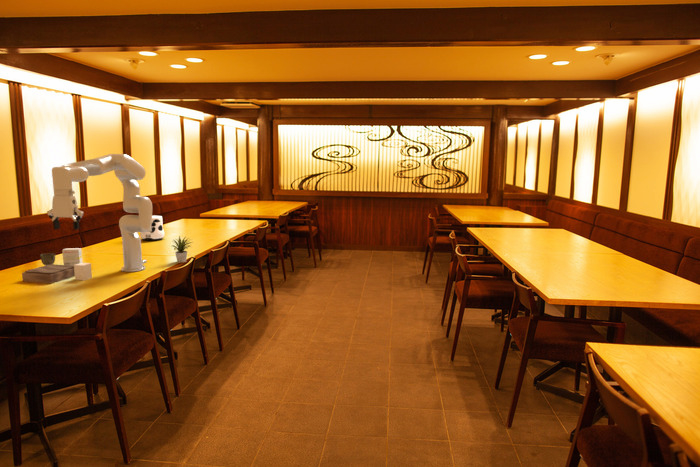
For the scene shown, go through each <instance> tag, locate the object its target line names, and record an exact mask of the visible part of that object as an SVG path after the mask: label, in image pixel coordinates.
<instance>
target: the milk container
mask: <svg viewBox="0 0 700 467" xmlns="http://www.w3.org/2000/svg"><path fill="white" fill-rule="evenodd" d="M163 223H164V221H163V216H162V215H152V224H151V228H150V230H149V231H148V232H145V233H142V232H139V233H140V235H139V236H140V239H141V240H143V241H144V240H145V241H158V240H159V241H160V240H162V239H164V238H165V230H164V226H163V225H164V224H163Z"/></svg>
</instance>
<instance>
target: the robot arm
mask: <svg viewBox="0 0 700 467" xmlns="http://www.w3.org/2000/svg"><path fill="white" fill-rule="evenodd" d="M113 171H114V175H115V177H116V178H117V179H118V180H119V181H120V182H121V185H122V188H123V192H122V193H123V195H122V196H123V197H122V207H123V211H125V212H126V213H131V214H125V215H123V216H121V217H120V219H119V220H118V221H119V222H118V227H119V229H120V234H121V240H122V254H123V255H122V257H123V258H122V259H123V266H122V267H121V270H120V271H122V272H124V273H126V272H127V273H129V272H130V273H132V272H133V273H134V272H140V271H143V270H146V265H144V264H146V263H147V261H148V260H147V259H143V256H142V255H143V254H142V253H143V252H142V238H141V236H140V235H139V233H140V232H142V233H145V232H148V231H149V230H150V228H151V224H152V216H153V202H152V201H151V199H150V198H149V197H147V196H141V187H140V185H139V183H138V181H141V180H143V179H145V176H146V169H145V167H144V166H143V165H142V164H141V163H139V162H138V161H137V160H135V159H134V158H133V157H131V156H130V155H128V154H125V153H109V154H104V155H103V156H98V157H95V158H92V159H85V160H80V161H74V162H71V163H67V164H64V165H60V166H54V167H52V168H51V177H52V188H53V196H52V203H51V205H52V208H51V209H49V210H47V212H46V214H47V215H48V217H49V218H50V220H51V221H52V223H53V229H54V230H58V229H59V230H60V229H61V227H60V226H61V225H60V220H59V219H60V218H68V219H69V218H71V219H72V220H73V222H72V226H73V228H72V229H73V230H74V231H77V230H80V221H81V219H82V218H83V216H84V211H82V210H80V209H79V205H78V202H77V199H76V197H75V193H76V192H75V191H74V190H73V183H74V182H75V183H81V182H82V183H83V182H85V181H86V180H88V179H89V177H94V176H101V175H104V174H107V173H110V172H113ZM72 182H73V183H72ZM133 213H134V214H133ZM136 214H138V215H136Z"/></svg>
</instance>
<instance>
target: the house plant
mask: <svg viewBox="0 0 700 467" xmlns="http://www.w3.org/2000/svg"><path fill="white" fill-rule="evenodd" d="M192 240H193V238H192V239H190V237H188V238H186V237H184V238H182V239H181V236H180V235H179V237H178V239H177V238H175V239H173V240H172V242H173V243H174V244H175V245H174V244H173V245H171V247H173V248H174V251H175V250H177V251H175V252H174V253H175V257H176V261H177V263H180V264H181V263H186V262H187V258H188V257H187V256H188V251H187V250H188V249H189V248H191V243H194V242H193V241H192ZM191 241H192V242H191ZM186 249H187V250H186Z"/></svg>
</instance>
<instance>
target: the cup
mask: <svg viewBox="0 0 700 467" xmlns="http://www.w3.org/2000/svg"><path fill="white" fill-rule="evenodd" d="M39 255H40V256H39V257H40V260H41V263H42V265H43V266H46V265H50V264H55V261H56V252H47V253H41V254H39Z"/></svg>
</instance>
